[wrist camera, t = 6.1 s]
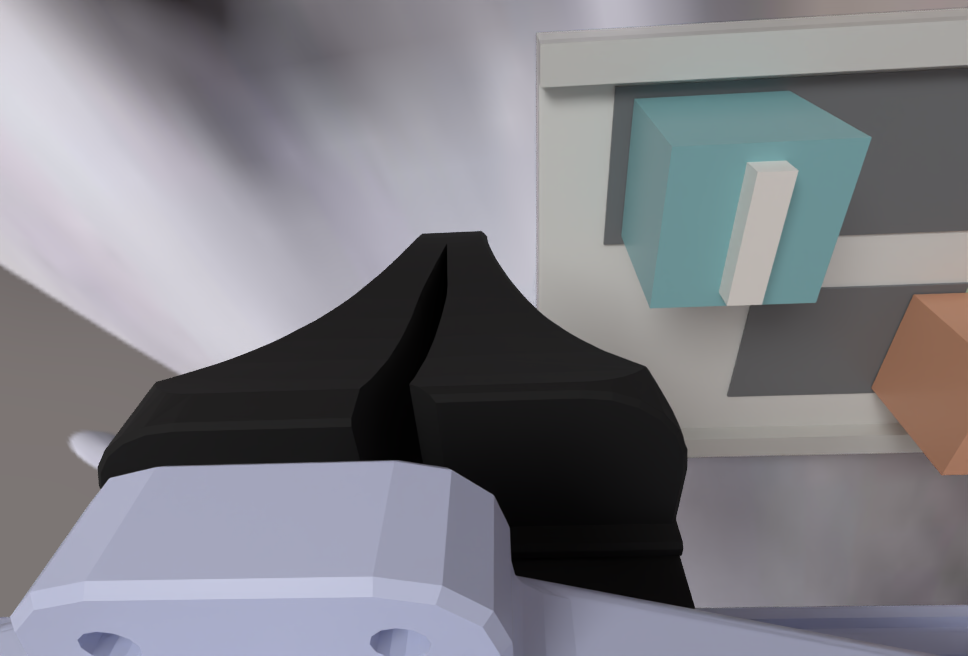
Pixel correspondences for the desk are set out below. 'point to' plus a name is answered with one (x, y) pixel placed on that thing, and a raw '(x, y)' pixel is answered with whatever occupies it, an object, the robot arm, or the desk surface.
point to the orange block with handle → (931, 378)
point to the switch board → (859, 248)
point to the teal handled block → (736, 197)
